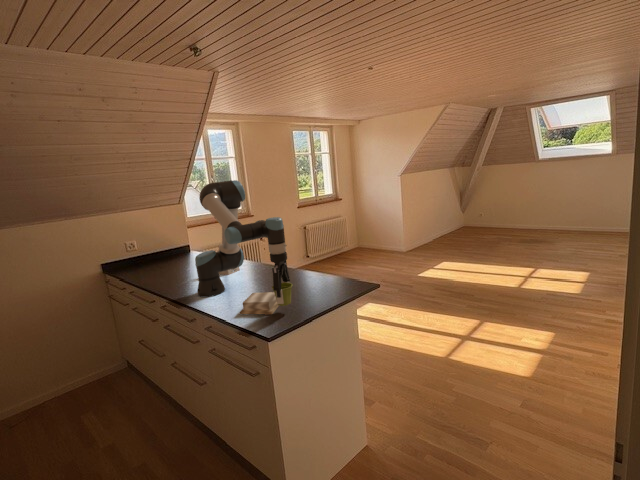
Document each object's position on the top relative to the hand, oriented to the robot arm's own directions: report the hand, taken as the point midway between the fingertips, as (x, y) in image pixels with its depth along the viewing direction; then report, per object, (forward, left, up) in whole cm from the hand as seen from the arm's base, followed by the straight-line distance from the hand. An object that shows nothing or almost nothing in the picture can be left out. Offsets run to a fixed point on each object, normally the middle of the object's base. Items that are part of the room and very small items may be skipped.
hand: (283, 299), depth 167 cm
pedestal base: (-14, +6, -6) cm, 16 cm away
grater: (-62, +71, -7) cm, 94 cm away
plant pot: (0, 0, -2) cm, 2 cm away
